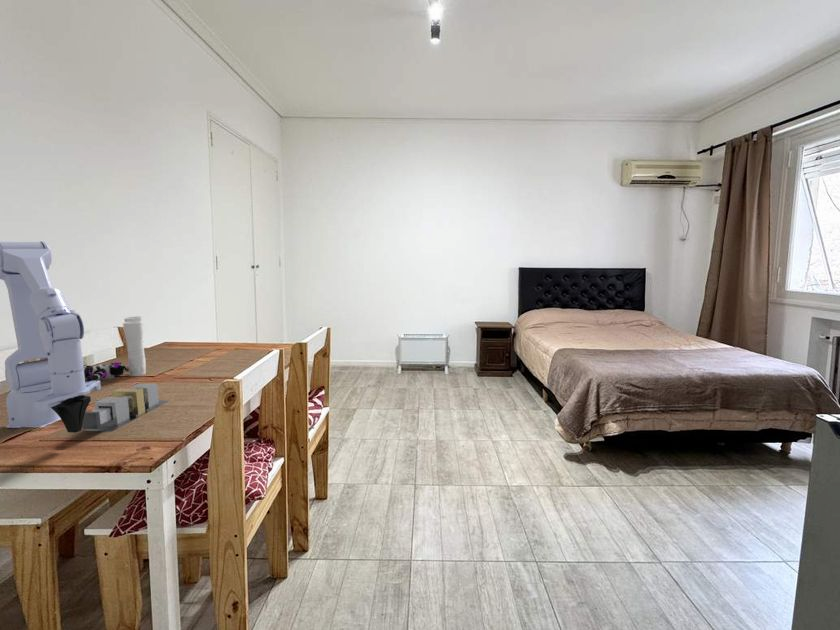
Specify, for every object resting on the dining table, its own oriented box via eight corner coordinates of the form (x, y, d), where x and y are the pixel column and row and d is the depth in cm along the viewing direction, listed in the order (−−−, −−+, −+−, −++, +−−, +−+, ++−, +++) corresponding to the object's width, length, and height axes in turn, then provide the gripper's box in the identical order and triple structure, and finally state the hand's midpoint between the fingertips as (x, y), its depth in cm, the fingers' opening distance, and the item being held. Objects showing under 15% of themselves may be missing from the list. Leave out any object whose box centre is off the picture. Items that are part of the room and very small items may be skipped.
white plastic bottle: (129, 365, 163) (124, 317, 160) (147, 363, 166) (142, 315, 163) (128, 377, 149) (122, 324, 146) (147, 375, 151) (142, 322, 149)
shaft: (81, 428, 101) (79, 412, 101) (140, 400, 120) (139, 386, 120) (97, 429, 101) (95, 413, 101) (153, 400, 120) (152, 387, 119)
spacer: (114, 415, 113) (111, 391, 112) (122, 412, 115) (119, 388, 114) (138, 416, 112) (136, 391, 111) (145, 412, 115) (143, 388, 114)
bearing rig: (83, 432, 104) (80, 406, 103) (145, 402, 125) (143, 379, 124) (111, 433, 103) (108, 407, 102) (169, 402, 124) (167, 380, 123)
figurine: (50, 357, 152) (143, 354, 158) (51, 377, 153) (144, 373, 159) (1, 369, 129) (112, 365, 135) (3, 393, 130) (113, 388, 136)
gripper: (54, 380, 88) (62, 446, 90) (110, 362, 102) (116, 419, 104) (21, 380, 88) (30, 445, 90) (81, 361, 103) (88, 418, 105)
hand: (74, 431), depth 97 cm, fingers closed
